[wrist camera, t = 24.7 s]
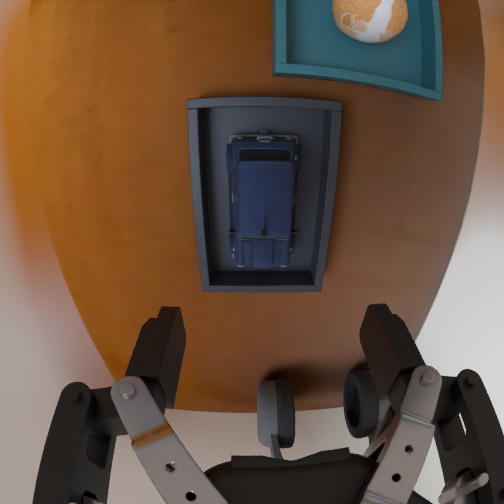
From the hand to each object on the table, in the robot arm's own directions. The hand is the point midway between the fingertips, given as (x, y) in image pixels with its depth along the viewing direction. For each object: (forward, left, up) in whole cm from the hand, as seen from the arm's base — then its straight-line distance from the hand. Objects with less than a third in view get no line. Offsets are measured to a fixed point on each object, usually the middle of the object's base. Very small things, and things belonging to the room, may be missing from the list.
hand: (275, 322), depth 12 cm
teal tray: (-18, +8, -16) cm, 25 cm away
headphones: (+30, +9, -16) cm, 35 cm away
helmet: (-18, +8, -16) cm, 25 cm away
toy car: (0, 0, -16) cm, 16 cm away
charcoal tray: (0, 0, -16) cm, 16 cm away
